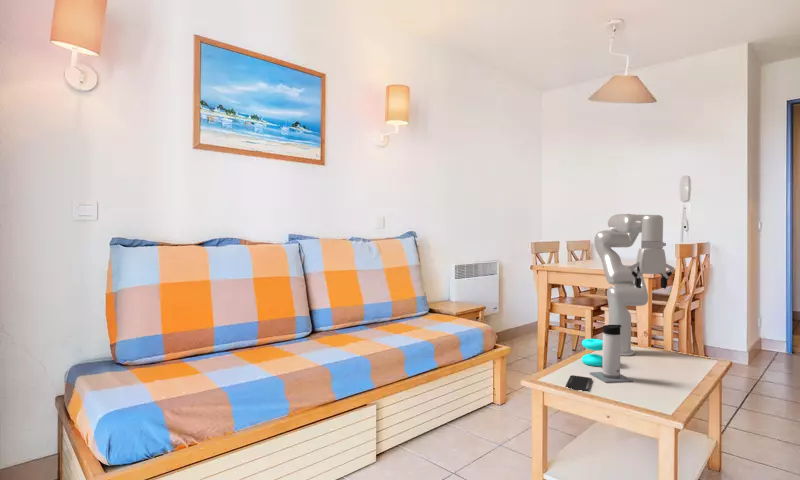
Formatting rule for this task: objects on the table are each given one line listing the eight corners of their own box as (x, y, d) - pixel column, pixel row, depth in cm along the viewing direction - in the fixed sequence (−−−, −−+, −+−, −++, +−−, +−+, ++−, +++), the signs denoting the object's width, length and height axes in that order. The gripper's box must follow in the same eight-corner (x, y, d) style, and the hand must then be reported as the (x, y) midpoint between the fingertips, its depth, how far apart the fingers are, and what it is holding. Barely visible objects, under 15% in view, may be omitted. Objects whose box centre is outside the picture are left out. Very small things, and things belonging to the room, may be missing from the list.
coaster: (589, 373, 182) (589, 372, 182) (615, 372, 183) (615, 371, 183) (605, 382, 171) (605, 381, 171) (632, 381, 173) (632, 380, 173)
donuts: (588, 336, 203) (611, 340, 196) (588, 359, 203) (611, 364, 196) (577, 340, 196) (600, 344, 189) (577, 363, 196) (600, 368, 189)
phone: (592, 378, 175) (588, 389, 161) (592, 381, 175) (588, 393, 161) (570, 375, 178) (564, 386, 165) (570, 377, 178) (564, 389, 165)
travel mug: (623, 379, 174) (623, 326, 173) (604, 377, 175) (605, 326, 175) (618, 374, 180) (619, 323, 179) (600, 373, 181) (601, 322, 181)
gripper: (669, 245, 187) (668, 286, 187) (625, 245, 188) (624, 286, 189) (679, 246, 179) (678, 289, 180) (633, 246, 181) (632, 289, 181)
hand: (650, 287), depth 184 cm, fingers open, 9 cm apart
